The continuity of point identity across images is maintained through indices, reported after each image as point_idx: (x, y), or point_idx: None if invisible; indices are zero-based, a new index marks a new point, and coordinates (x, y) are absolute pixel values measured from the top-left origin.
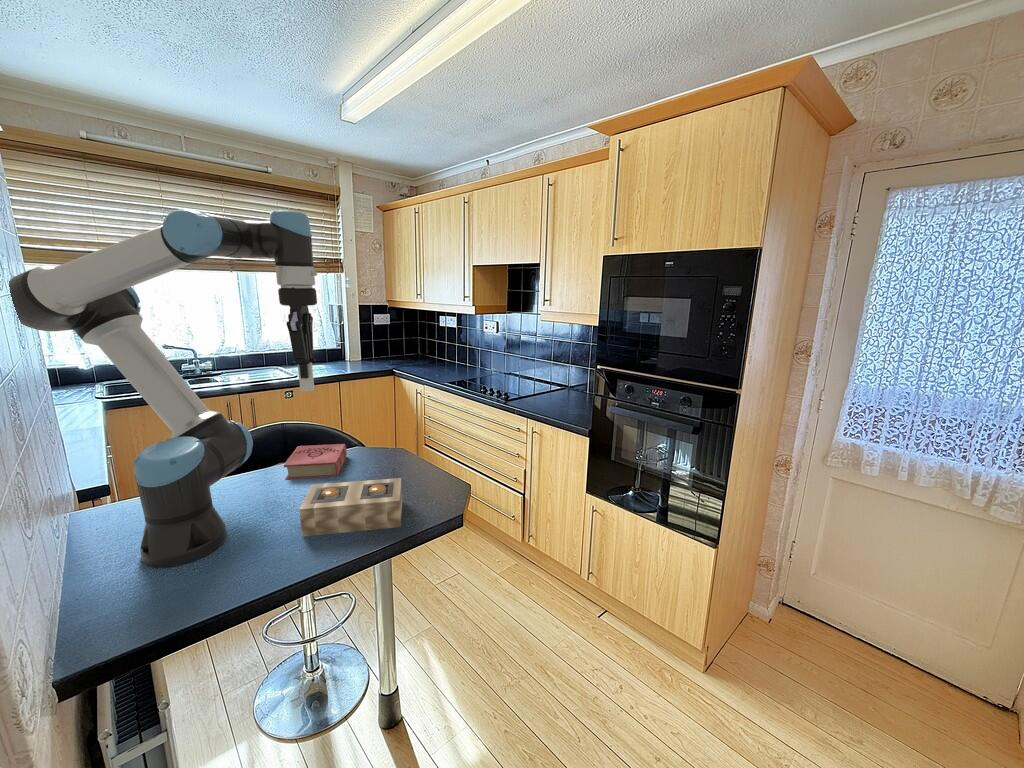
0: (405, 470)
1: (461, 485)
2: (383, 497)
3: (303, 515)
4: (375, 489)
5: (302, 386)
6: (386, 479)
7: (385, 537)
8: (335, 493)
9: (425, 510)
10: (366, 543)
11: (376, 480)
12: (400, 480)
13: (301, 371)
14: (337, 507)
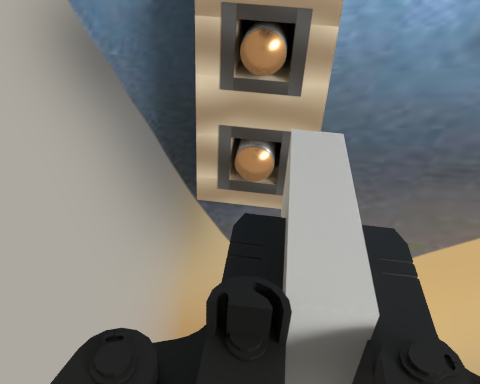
0: (468, 196)
1: None
2: (217, 172)
3: None
4: (249, 160)
5: (288, 166)
6: None
7: (178, 140)
8: (251, 68)
9: (257, 211)
10: (163, 107)
11: None
12: None
13: (227, 270)
14: (196, 73)
